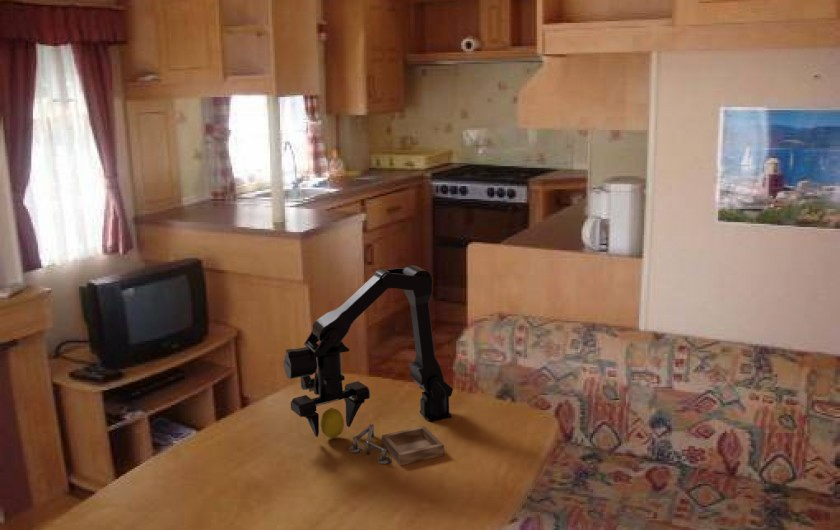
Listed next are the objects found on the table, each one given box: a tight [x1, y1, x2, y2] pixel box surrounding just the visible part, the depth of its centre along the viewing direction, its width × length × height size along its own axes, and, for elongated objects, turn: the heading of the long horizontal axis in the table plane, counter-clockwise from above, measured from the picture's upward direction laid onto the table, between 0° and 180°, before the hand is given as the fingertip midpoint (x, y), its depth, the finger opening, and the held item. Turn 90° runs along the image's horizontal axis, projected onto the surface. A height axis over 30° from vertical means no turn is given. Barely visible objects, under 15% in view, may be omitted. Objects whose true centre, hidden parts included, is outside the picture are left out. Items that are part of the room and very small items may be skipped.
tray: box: [381, 425, 445, 466], centre depth 183 cm, size 11×11×3 cm
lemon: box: [320, 407, 345, 440], centre depth 189 cm, size 6×6×8 cm
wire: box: [348, 423, 392, 465], centre depth 183 cm, size 8×15×3 cm, turn 24°
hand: (332, 431), depth 190 cm, fingers open, 8 cm apart
